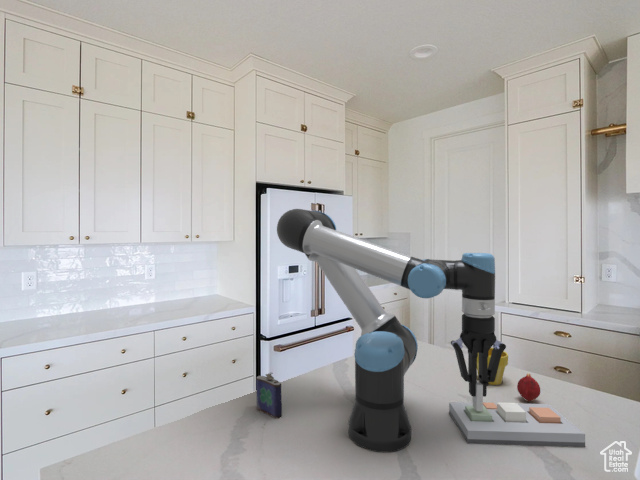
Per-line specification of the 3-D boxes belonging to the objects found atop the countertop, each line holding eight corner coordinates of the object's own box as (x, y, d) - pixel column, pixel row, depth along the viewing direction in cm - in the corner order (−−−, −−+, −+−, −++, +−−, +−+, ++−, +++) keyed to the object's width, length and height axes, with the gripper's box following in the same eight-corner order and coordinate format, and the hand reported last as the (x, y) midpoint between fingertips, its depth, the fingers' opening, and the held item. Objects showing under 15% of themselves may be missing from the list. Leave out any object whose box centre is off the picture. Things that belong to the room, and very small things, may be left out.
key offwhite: (505, 424, 85) (505, 411, 85) (496, 414, 90) (496, 402, 89) (526, 424, 84) (526, 412, 84) (516, 414, 89) (516, 402, 89)
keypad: (467, 443, 81) (467, 429, 81) (449, 412, 95) (449, 400, 95) (585, 446, 79) (585, 432, 79) (548, 415, 93) (548, 403, 93)
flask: (254, 408, 98) (254, 370, 98) (262, 404, 100) (262, 367, 100) (277, 419, 92) (277, 379, 92) (285, 415, 94) (285, 375, 94)
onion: (544, 406, 98) (544, 378, 98) (521, 405, 99) (521, 377, 99) (535, 397, 104) (535, 370, 103) (514, 395, 105) (514, 369, 105)
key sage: (472, 427, 85) (472, 415, 85) (465, 417, 90) (465, 405, 90) (492, 428, 85) (492, 415, 85) (484, 417, 90) (484, 406, 90)
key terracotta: (539, 429, 84) (539, 416, 84) (529, 418, 89) (529, 407, 89) (560, 429, 84) (560, 417, 84) (548, 419, 89) (548, 407, 89)
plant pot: (509, 378, 117) (509, 349, 117) (506, 390, 108) (506, 359, 108) (475, 372, 123) (475, 344, 123) (470, 383, 114) (470, 353, 114)
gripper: (456, 317, 84) (455, 415, 84) (512, 318, 83) (511, 417, 83) (446, 311, 91) (446, 400, 92) (498, 311, 91) (497, 402, 91)
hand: (477, 408), depth 88 cm, fingers closed
